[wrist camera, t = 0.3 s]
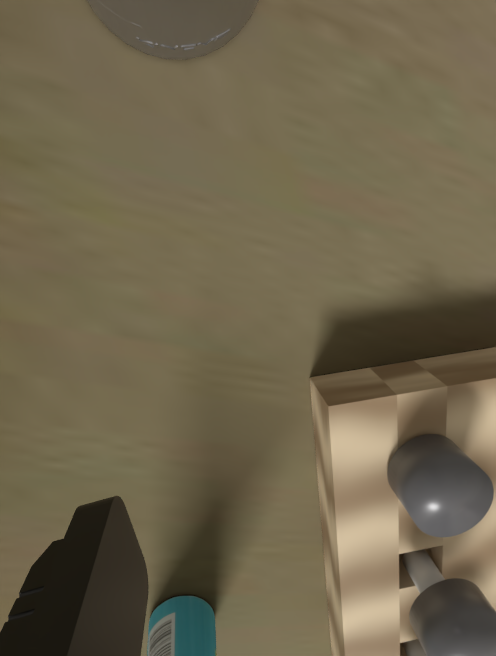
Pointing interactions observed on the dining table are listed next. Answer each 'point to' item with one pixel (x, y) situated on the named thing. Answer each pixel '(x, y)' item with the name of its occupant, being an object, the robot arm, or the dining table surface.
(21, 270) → the dining table surface
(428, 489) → the knob
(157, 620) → the teal bottle
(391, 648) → the panel
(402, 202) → the dining table surface
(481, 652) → the knob middle
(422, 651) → the knob
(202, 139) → the dining table surface
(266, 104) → the dining table surface
